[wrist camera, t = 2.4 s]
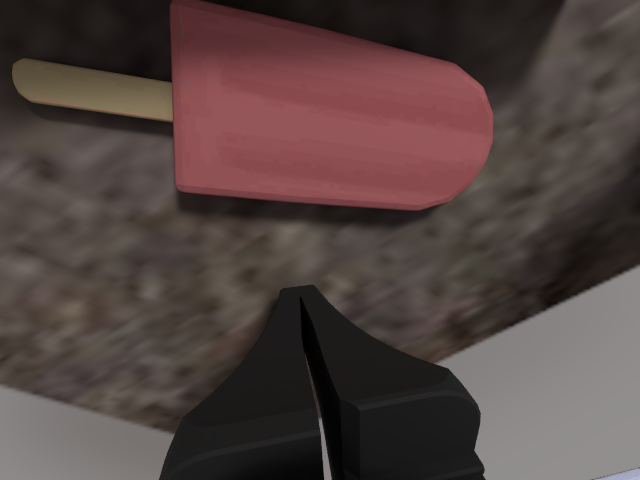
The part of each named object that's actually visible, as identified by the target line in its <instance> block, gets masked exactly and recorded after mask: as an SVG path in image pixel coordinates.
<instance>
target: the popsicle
mask: <svg viewBox="0 0 640 480" xmlns="http://www.w3.org/2000/svg"><path fill="white" fill-rule="evenodd" d="M170 36H171V71H172V83H171V82H166V81H160V80H154V79H148V78H142V77H136V76H130V75H124V74H118V73H112V72H106V71H100V70H94V69H88V68H82V67H76V66H70V65H64V64H58V63H52V62H46V61H40V60H34V59H28V58H22V59H21V60H19V61H17V62H15V63H14V64H13V68H12V78H13V83H14V85H15V87H16V89H17V91H18V93H19V94H20V95H22V96H23V97H25V98H26V99H27V100H29V101H30V102H32V103H39V104H46V105H53V106H60V107H67V108H74V109H82V110H89V111H96V112H103V113H110V114H117V115H124V116H131V117H138V118H145V119H152V120H159V121H166V122H173V139H174V174H175V184H176V186H177V189H178V190H180V191H182V192H185V193H192V194H203V195H214V196H225V197H236V198H247V199H257V200H268V201H279V202H290V203H302V204H317V205H332V206H347V207H362V208H377V209H392V210H407V211H417V210H421V209H424V208H428V207H432V206H435V205H439V204H442V203H446V202H449V201H451V200H452V199H453V198H454V197H455V196H457V195H458V194H459V193H460V192H462V191H463V190H464V189H465V188H467V187H468V186H469V185H470V184H472V182H473V181H474V179H475V178H476V176H477V175H478V173H479V171H480V170H481V168H482V167H483V165H484V164H485V162H486V160H487V157H488V154H489V151H490V148H491V144H492V141H493V112H492V110H491V107H490V104H489V101H488V99H487V96H486V93H485V90H484V87H483V86H482V85H481V84H479V83H478V82H477V81H476V80H474V79H473V78H472V77H471V76H470V75H468V74H467V73H466V72H465V71H464V70H462V69H461V68H460V67H459V66H458V65H456V64H455V63H453V62H449V61H445V60H441V59H437V58H434V57H430V56H426V55H422V54H418V53H415V52H411V51H407V50H403V49H399V48H396V47H392V46H388V45H384V44H381V43H377V42H373V41H369V40H365V39H362V38H358V37H354V36H350V35H346V34H343V33H339V32H335V31H331V30H328V29H324V28H320V27H316V26H311V25H307V24H303V23H298V22H294V21H290V20H285V19H281V18H277V17H273V16H268V15H264V14H260V13H255V12H251V11H247V10H242V9H238V8H234V7H230V6H225V5H221V4H217V3H212V2H208V1H204V0H172V2H171V5H170Z"/></svg>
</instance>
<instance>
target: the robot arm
mask: <svg viewBox="0 0 640 480" xmlns="http://www.w3.org/2000/svg"><path fill="white" fill-rule="evenodd" d="M305 353H306V357H307V361H308V365H309V369H310V372H311V376H312V380H313V384H314V387H315V391H316V395H317V399H318V402H319V407H320V412H321V417H322V423H323V429H324V433H325V440H326V446H327V453H328V458H329V464H330V470H331V477H332V480H486V479H485V478H484V476H483V475H482V474H484V470H485V469H484V466H483V464H482V462H481V461H480V460H479V458H478V456H477V454H476V453H475V451H474V449H475V444H476V440H477V435H478V430H479V426H480V415H481V413H480V410H479V407H478V405H477V403H476V402H475V400H474V399H473V398H472V396H471V395H470V394H469V393H468V391H467V390H466V389H465V387H464V386H463V385H462V383H461V382H460V381H459V380H458V379H457V378H456V377H455V376H454V375H453V373H452V372H451V371H450V370H449V369H448V368H445V367H442V366H439V365H436V364H433V363H430V362H427V361H424V360H421V359H418V358H416V357H413V356H411V355H408V354H406V353H404V352H401V351H399V350H397V349H395V348H393V347H390V346H388V345H387V344H385V343H383V342H381V341H379V340H377V339H375V338H374V337H372V336H370V335H369V334H367V333H366V332H364V331H363V330H361V329H360V328H358V327H357V326H355V325H354V324H353V323H351V322H350V321H349V320H348V319H347V318H345V317H344V316H343V315H342V314H341V313H340V312H339V311H338V310H337V309H335V308H334V307H333V306H332V305H331V304H330V303H329V302H328V301H327V300H326V298H325V297H324V296H323V295H322V294H321V293H320V292H319V290H318V289H317V288H316V287H315V286H314V285H306V286H298V287H291V288H283V289H282V290H281V291H280V294H279V298H278V301H277V304H276V307H275V309H274V311H273V314H272V316H271V318H270V320H269V322H268V324H267V326H266V327H265V329H264V331H263V333H262V335H261V336H260V338H259V339H258V341H257V343H256V344H255V346H254V347H253V348H252V350H251V351H250V353H249V354H248V355H247V356H246V358H245V359H244V360H243V361H242V363H241V364H240V365H239V366H238V367H237V369H236V370H235V371H234V372H233V373H232V374H231V375H230V376H229V377H228V378H227V379H226V380H225V381H224V382H223V383H222V384H221V385H220V386H219V387H218V388H217V389H216V390H215V391H214V392H213V393H212V394H211V395H210V396H208V397H207V398H206V399H205V400H204V401H202V402H201V403H200V404H199V405H198V406H196V407H195V408H194V409H193V410H192V411H190V412H189V413H188V414H187V415H185V416H184V417H183V418H182V420H181V422H180V425H179V427H178V429H177V431H176V433H175V436H174V438H173V440H172V443H171V445H170V447H169V450H168V452H167V456H166V458H165V461H164V464H163V468H162V472H161V475H160V478H159V480H324V473H323V460H322V446H321V434H320V428H319V421H318V415H317V409H316V405H315V401H314V396H313V392H312V387H311V383H310V379H309V374H308V369H307V364H306V359H305ZM592 480H640V468H636V469H632V470H628V471H624V472H620V473H616V474H613V475H608V476H604V477H600V478H596V479H592Z"/></svg>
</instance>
